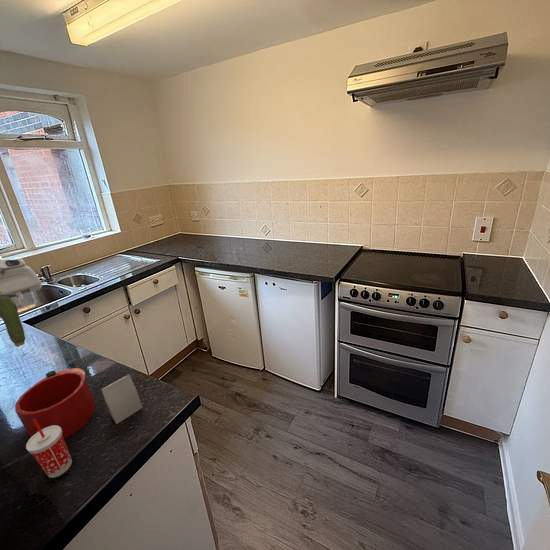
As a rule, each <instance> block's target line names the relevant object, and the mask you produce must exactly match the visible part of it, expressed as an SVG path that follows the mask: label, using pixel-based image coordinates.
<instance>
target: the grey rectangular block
mask: <svg viewBox="0 0 550 550" xmlns="http://www.w3.org/2000/svg"><path fill="white" fill-rule="evenodd" d="M101 393H102V395H103V400H104V401H105V404H106V406H107V409H108V411H109V414H110V416H111V418H112V420H113V422H114V423H115V424H116V425H118V424H119V423H121V422H123V421H124V420H125V419H127V418H129V417H131V416H132V415H134V414H135V413H137V412H138V411H140V410H142V409H143V408H144V407H143V404H142V401H141V399H140V396H139V393H138V390H137V387H136V386H135V384H134V381H133V379H132V377H131V374H127V375H125V376H123V377H122V378H119V379H118V380H116V381H114V382H112V383H110V384H108V385H107V386H105V387H102V388H101Z"/></svg>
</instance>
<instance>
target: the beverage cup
mask: <svg viewBox="0 0 550 550" xmlns="http://www.w3.org/2000/svg"><path fill="white" fill-rule="evenodd" d="M33 422H34V423H35V425H36V427H37V429H38V431H39V432H37V433H36V434H34V435H33V436H32V437H31V438H30V437H29V439H28V441H27V443H26V444H25V449H26V450H27V452H28V453H29V454H31V455H32V456H33V458H34V459H35V461H36V462H37V463H38V465H39V466H40V467H41V469H42V470H43V472H44V473H45V474H46V476H47V477H48V478H49V479H50V478H52V479H54V478H57V477H60V476H61V475H63V474H64V473H66V472H67V471H68V470H69V468H71V466H72V463H73V460H72V457H71V453H70V452H69V449H68V446H67V443H66V442H65V438H63V436H62V430H61V427H59V426H54V425H53V426H49V427H46V428H44V429H42V430H41V428H40V426H39V424H38V422H37V420H36V419H33Z"/></svg>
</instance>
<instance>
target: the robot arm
mask: <svg viewBox="0 0 550 550" xmlns="http://www.w3.org/2000/svg"><path fill="white" fill-rule="evenodd" d="M42 287H43V284H42V282H41V280H40V277H39V276H38V275H37V273H36V272H35V271H34V269H32V268H31V267H30V266H28V265H27V264H26V261H25V260H24V259H21V258H20V259H19V258H17V259H4V258H2V256H0V291H1V292H2V295H5V296H8V297H10V298H11V299H15V298H17V300H16V301H13V302H14V304H15V306H16V308H17V310H19V309H23V308H24V306H23V304H22V303H23V301H24V295H27V294H30V293H34V292H37V291H40V290H41V289H42Z"/></svg>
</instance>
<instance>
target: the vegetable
mask: <svg viewBox="0 0 550 550" xmlns="http://www.w3.org/2000/svg"><path fill="white" fill-rule="evenodd" d="M14 302H15V301H14V300H13V298H10V297H8V296H5V295H2V292H1V291H0V318H1V320H2V321H3V324H4V325H5V328H6V332H7V335H8V337H9V339H10V341H11V342H12V343H13V345H14V346H15V347H17V348H19V347H21V346H23V345H25V344H26V343H25V340H26V334H25V329H24V325H23V324H22V321H21V317H20V314H19V311H18V310H19V309H17V308H16V306H15V304H14Z"/></svg>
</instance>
